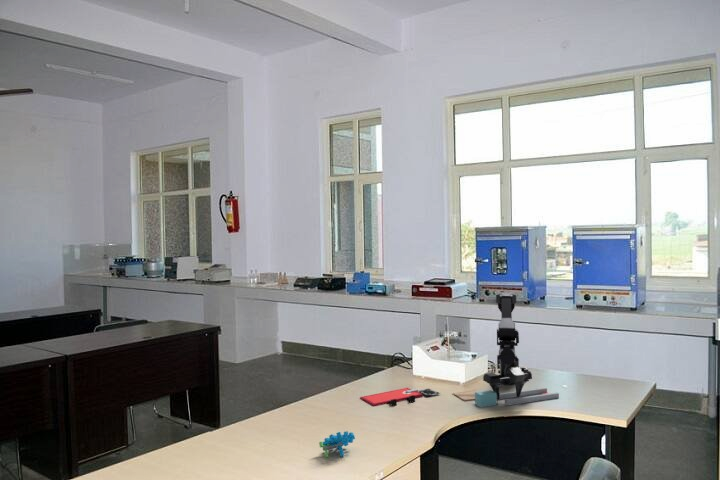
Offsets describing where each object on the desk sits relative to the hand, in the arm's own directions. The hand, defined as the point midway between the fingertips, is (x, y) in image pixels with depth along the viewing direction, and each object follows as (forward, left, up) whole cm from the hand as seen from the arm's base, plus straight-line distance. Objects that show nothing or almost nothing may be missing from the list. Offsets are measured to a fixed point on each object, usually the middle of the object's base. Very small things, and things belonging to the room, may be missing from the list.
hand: (508, 398), depth 213 cm
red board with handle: (-20, -36, -2) cm, 41 cm away
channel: (0, +9, -1) cm, 9 cm away
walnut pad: (-11, -10, -1) cm, 15 cm away
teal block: (0, -10, -1) cm, 10 cm away
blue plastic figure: (+23, -76, -1) cm, 79 cm away
